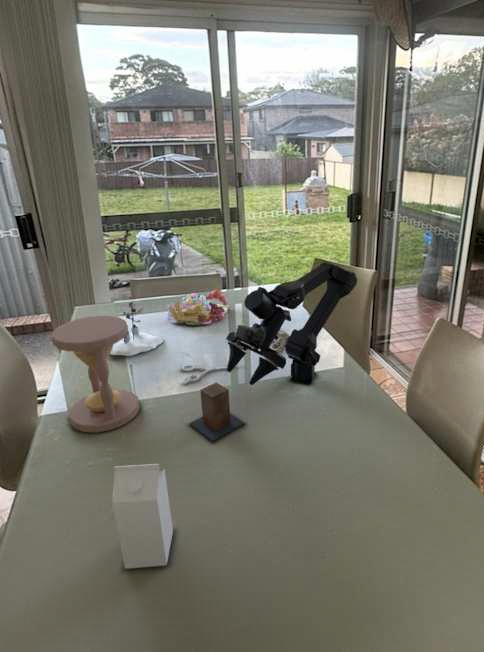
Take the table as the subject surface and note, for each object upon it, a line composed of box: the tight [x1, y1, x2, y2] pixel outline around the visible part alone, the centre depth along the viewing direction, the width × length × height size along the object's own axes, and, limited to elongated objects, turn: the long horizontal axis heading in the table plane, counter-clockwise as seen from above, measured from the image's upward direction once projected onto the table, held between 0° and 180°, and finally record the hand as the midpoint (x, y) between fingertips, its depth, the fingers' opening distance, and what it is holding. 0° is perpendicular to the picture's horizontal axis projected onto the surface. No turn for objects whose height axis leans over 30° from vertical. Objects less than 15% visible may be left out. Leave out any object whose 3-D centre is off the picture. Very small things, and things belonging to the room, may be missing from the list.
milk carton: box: [111, 463, 174, 569], centre depth 76 cm, size 7×7×19 cm
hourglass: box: [51, 315, 141, 434], centre depth 114 cm, size 18×18×25 cm
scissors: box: [181, 362, 240, 385], centre depth 140 cm, size 11×1×20 cm
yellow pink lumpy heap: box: [167, 289, 229, 326], centre depth 182 cm, size 25×24×9 cm
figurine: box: [110, 301, 164, 357], centre depth 154 cm, size 20×18×16 cm
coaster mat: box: [189, 413, 245, 443], centre depth 113 cm, size 10×10×1 cm
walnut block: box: [199, 382, 231, 431], centre depth 111 cm, size 5×5×10 cm
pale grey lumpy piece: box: [269, 329, 290, 354], centre depth 161 cm, size 25×10×5 cm
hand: (239, 377), depth 115 cm, fingers open, 9 cm apart
